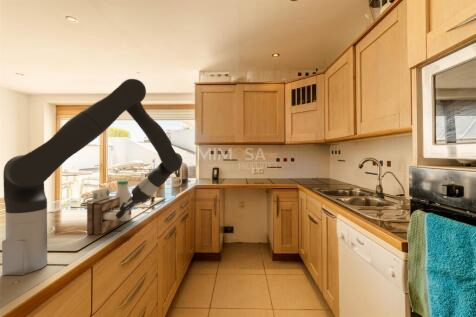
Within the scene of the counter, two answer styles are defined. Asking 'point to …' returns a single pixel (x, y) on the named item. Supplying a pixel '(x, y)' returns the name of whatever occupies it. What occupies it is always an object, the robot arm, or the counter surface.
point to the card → (100, 194)
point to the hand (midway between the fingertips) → (117, 216)
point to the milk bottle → (123, 198)
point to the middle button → (113, 211)
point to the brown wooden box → (95, 215)
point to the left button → (108, 216)
